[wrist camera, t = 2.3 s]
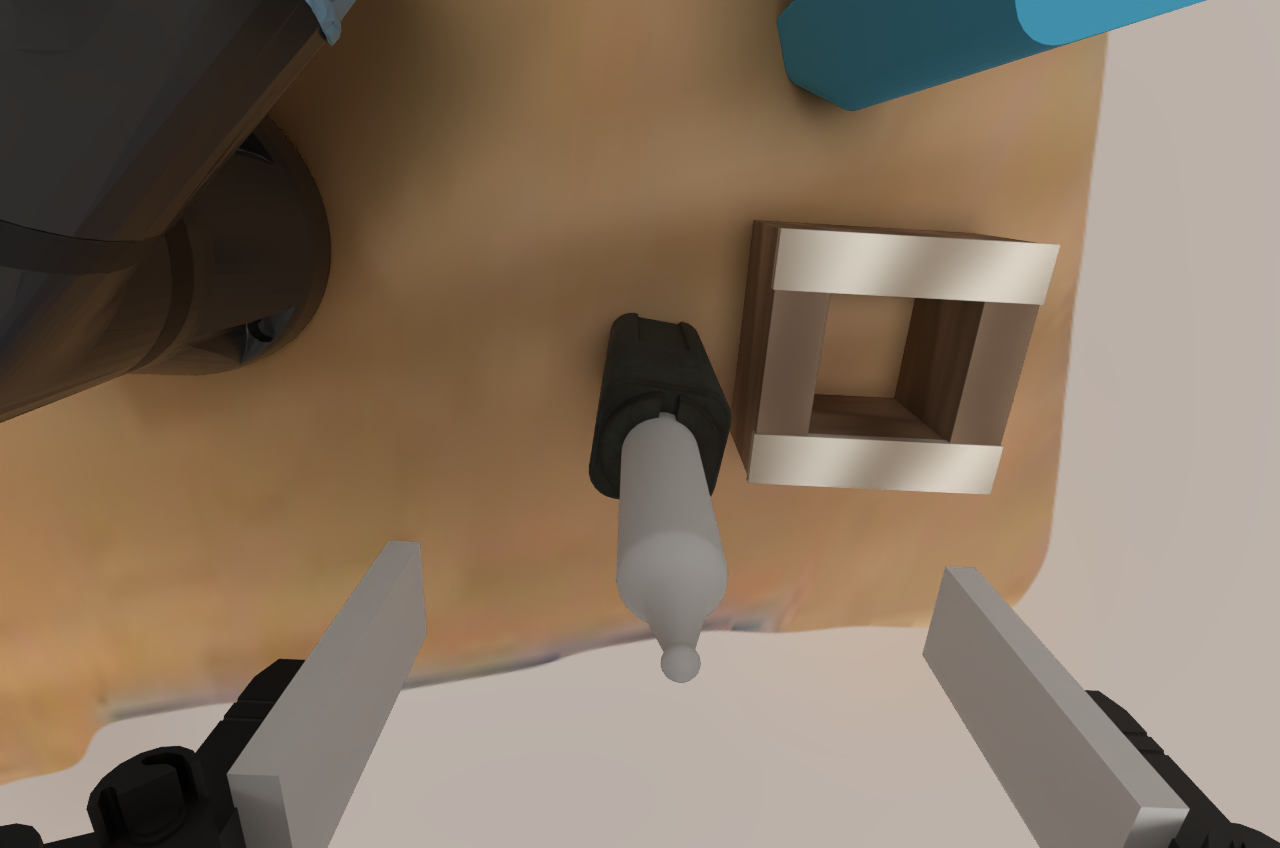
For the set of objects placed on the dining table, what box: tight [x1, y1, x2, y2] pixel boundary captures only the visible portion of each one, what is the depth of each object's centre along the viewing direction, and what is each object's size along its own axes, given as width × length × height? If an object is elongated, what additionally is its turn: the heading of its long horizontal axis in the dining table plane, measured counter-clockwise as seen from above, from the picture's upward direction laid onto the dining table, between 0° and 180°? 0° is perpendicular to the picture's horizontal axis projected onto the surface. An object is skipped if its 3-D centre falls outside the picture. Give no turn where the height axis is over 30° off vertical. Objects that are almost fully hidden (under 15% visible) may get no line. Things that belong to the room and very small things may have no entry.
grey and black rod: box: [589, 313, 732, 683], centre depth 25 cm, size 5×5×25 cm
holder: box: [730, 220, 1060, 494], centre depth 33 cm, size 12×12×7 cm
